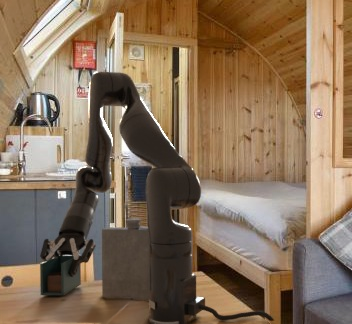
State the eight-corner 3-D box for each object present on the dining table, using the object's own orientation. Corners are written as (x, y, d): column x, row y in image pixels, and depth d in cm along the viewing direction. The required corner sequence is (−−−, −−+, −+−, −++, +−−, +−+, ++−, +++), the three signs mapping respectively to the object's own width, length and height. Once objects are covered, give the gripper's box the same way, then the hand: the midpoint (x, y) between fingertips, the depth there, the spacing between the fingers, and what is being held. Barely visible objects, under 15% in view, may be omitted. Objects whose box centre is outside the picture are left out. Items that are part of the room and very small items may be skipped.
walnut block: (54, 287, 121) (54, 271, 121) (69, 287, 121) (69, 272, 121) (47, 291, 117) (47, 275, 117) (62, 291, 117) (62, 275, 117)
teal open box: (59, 284, 126) (59, 255, 125) (80, 284, 125) (80, 255, 125) (40, 295, 116) (40, 263, 115) (63, 295, 115) (63, 263, 115)
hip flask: (100, 298, 116) (99, 219, 116) (107, 294, 120) (107, 217, 120) (160, 301, 113) (160, 220, 113) (166, 296, 117) (165, 218, 117)
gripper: (48, 214, 128) (25, 267, 116) (98, 214, 127) (80, 267, 115) (57, 230, 133) (36, 282, 122) (106, 230, 133) (89, 282, 121)
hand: (58, 274), depth 119 cm, fingers closed on teal open box, 6 cm apart
